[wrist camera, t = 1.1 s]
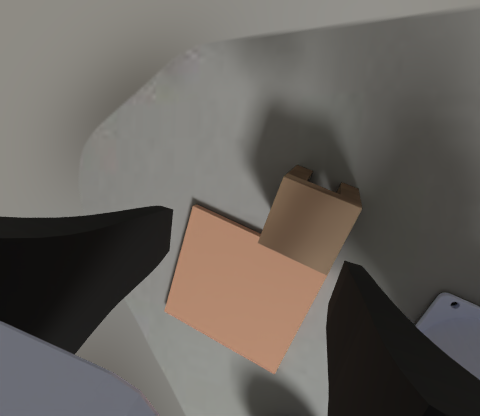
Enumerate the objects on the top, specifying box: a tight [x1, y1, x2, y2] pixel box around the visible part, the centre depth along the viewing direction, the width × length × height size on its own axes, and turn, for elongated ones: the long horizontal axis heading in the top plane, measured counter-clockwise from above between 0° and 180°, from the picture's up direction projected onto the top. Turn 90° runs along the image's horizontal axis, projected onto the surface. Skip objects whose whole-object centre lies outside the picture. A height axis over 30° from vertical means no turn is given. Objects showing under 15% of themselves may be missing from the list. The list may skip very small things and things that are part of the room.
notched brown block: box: [258, 165, 362, 275], centre depth 18 cm, size 4×4×5 cm
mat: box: [165, 204, 330, 374], centre depth 25 cm, size 12×12×1 cm
